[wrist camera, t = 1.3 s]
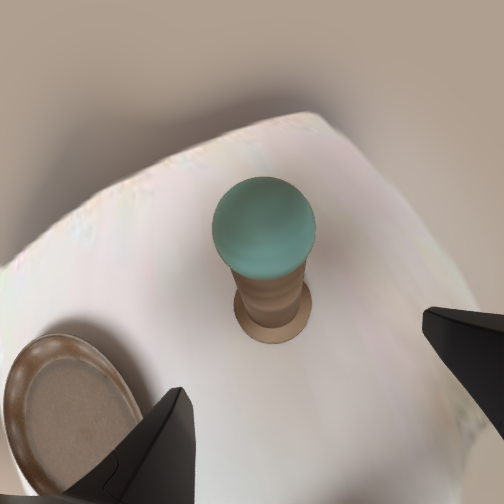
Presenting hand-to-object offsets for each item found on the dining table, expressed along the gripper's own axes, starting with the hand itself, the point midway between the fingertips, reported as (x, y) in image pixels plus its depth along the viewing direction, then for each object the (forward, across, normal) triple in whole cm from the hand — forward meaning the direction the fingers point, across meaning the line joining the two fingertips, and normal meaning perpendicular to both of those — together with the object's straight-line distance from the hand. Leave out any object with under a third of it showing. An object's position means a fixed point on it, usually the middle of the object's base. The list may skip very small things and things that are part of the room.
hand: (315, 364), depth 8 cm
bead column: (+14, 0, +4) cm, 15 cm away
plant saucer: (+8, +22, +11) cm, 26 cm away
